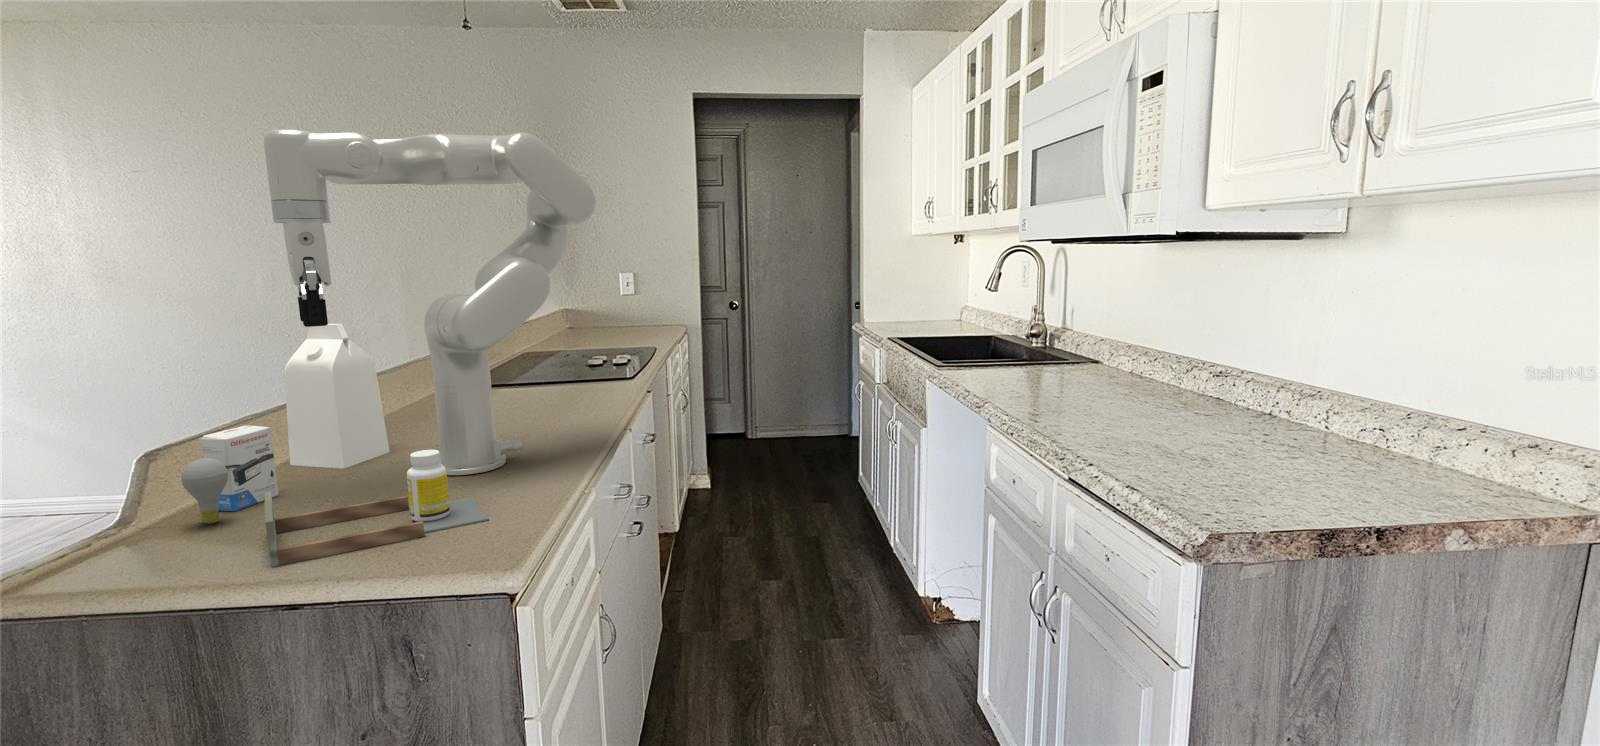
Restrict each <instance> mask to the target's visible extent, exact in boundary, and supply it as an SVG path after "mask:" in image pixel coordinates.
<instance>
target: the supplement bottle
mask: <svg viewBox="0 0 1600 746" xmlns="http://www.w3.org/2000/svg"><path fill="white" fill-rule="evenodd" d="M409 454H410V455H409V457H410V458H409V459H410V465H412V467H410V468H409V469H407V472H406V483H407V494H408V495H407V496H408V504H409V508H410V510H409V515H410V519H411V520H413V521H415V522H416V521H433V520H438V519H441V518H443V517H445V516H447V515H448V514H449V513H450V503H449V501H450V495H449V483H448V475H447V471H446V468H445V466H443V465H442V464H439V461H440V458H441V457H440V450H437V449H423V450H418V451H415V452H412V453H409Z"/></svg>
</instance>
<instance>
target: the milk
mask: <svg viewBox="0 0 1600 746" xmlns="http://www.w3.org/2000/svg"><path fill="white" fill-rule="evenodd" d="M284 385H285V388H284V389H285V402H286V404H285V405H286V416H287V417H286V420H287V438H288V450H289V451H288V453H289V466H296V467H297V466H299V467H313V468H314V467H315V468H328V469H329V468H330V469H331V468H332V469H347V468H349V467H353V466H355V465H358V464H361V463H362V462H367V461H369V460H372V459H374V458H378V457H380V456H383V455H386V454H388V453H390V446H389V442H388V441H389V440H388V434H387V428H386V423H385V416H384V410H383V409H384V408H383V404H382V398H381V393H380V392H381V391H380V385H379V380H378V374H377V368H376V363H375V360H374V359H373V358H372V356H371V355H370V354H368V352H366V351H365V350H364V349H363V348H361V347H360V346H359V345H358V344H356V343H355V342H354V341H353V340H351V339H350V338H349V336H348V334H347V331H346V330H345V327H344V325H343V323H328V325H326V326H312V327H309V328H308V331H307V336H306V339H305V340H304V341H303V342H302V344H301V345H300V346H299V347H298V348H297V350H296V351H295V352H294V353H293V354H292V356H291V357H290V358H289V360H288V361H287V363H286V365H285V367H284Z"/></svg>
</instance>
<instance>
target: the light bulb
mask: <svg viewBox="0 0 1600 746" xmlns="http://www.w3.org/2000/svg"><path fill="white" fill-rule="evenodd" d="M227 481H228V471H227V469H226V467H225V466H224V464H223V463H221V462H220V461H218V460H216V459H212V458H203V457H202V458H198V459H196V460H193V461H192V462H190V463H188V464H187V465H186V466H185V467H184V469H183V471H182V474H181V484H182V486H183V488H184V489H185V490H186V491H187V492H188V494H190V496H192V497H193V499H195V500H196V502H197V503H198V506H199V512H200V513H201V519H202V522H203V523H205V524H208V525H210V526H211V525H214V524H215V523H216V522H218V521H220V512H219V511H220V510H219V503H218V502H219V497H220V495H221V493H222V491H223V489H224V487H225V485H226V483H227Z"/></svg>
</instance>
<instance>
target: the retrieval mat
mask: <svg viewBox="0 0 1600 746" xmlns="http://www.w3.org/2000/svg"><path fill="white" fill-rule="evenodd" d="M449 503H450V513H449V514H448V515H447V516H445V517H443V518H441V519H438V520H433V521H423V524H424V534H427V533H432V532H438V531H442V530H443V531H444V530H447V529H453V528H458V527H463V526H469V525H472V524H473V525H474V524H478V523H483V522H488V521H490V518H489V516H488V515H487V514H486V513H485V512H484V511H483V509H482V508H481V507H480V506H479V505H478V504H477V503H476V502H475V500H474V499H473V498H472V497H464V498H459V499H455V500H454V499H452V500H449ZM408 511H410V507H409V510H408ZM487 520H488V521H487ZM482 521H483V522H482ZM415 522H420V521H415Z"/></svg>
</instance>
